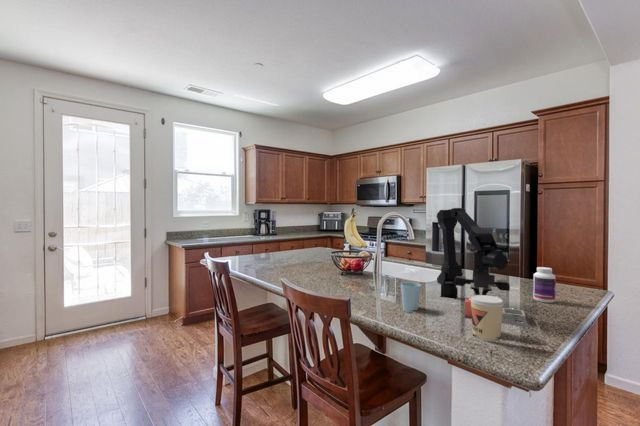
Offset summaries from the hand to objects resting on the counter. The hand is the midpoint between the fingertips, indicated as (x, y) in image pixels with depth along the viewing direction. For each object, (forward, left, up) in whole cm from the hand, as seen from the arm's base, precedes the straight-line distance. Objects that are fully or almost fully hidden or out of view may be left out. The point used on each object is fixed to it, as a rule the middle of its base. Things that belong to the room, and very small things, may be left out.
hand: (480, 305), depth 125 cm
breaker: (+4, +6, -1) cm, 7 cm away
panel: (+4, -2, -3) cm, 6 cm away
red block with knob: (-3, -7, -2) cm, 8 cm away
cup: (-25, -9, -3) cm, 27 cm away
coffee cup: (+1, -24, -3) cm, 25 cm away
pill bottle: (+25, +32, -3) cm, 41 cm away
